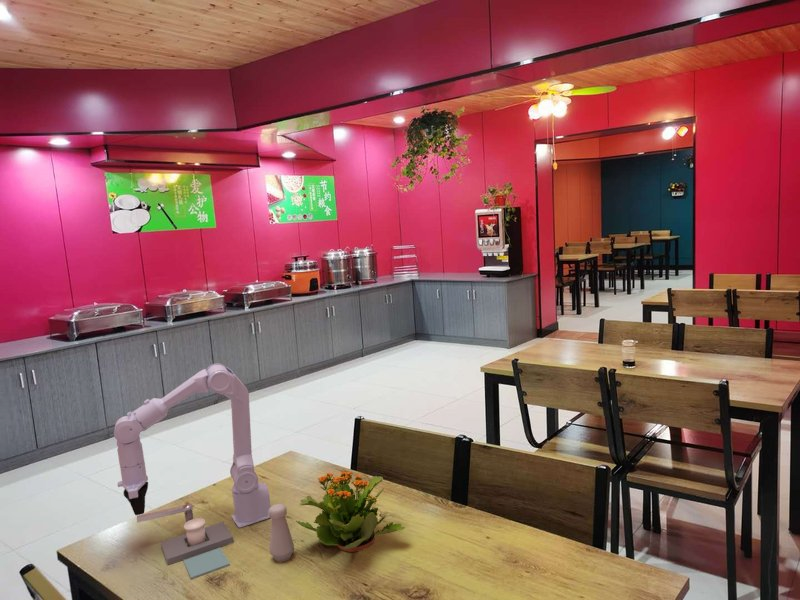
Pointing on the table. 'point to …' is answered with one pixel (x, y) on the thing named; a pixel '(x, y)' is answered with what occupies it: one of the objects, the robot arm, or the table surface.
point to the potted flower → (347, 513)
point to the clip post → (188, 515)
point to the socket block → (179, 551)
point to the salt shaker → (280, 534)
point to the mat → (206, 563)
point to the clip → (165, 512)
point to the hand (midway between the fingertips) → (139, 513)
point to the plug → (195, 531)
